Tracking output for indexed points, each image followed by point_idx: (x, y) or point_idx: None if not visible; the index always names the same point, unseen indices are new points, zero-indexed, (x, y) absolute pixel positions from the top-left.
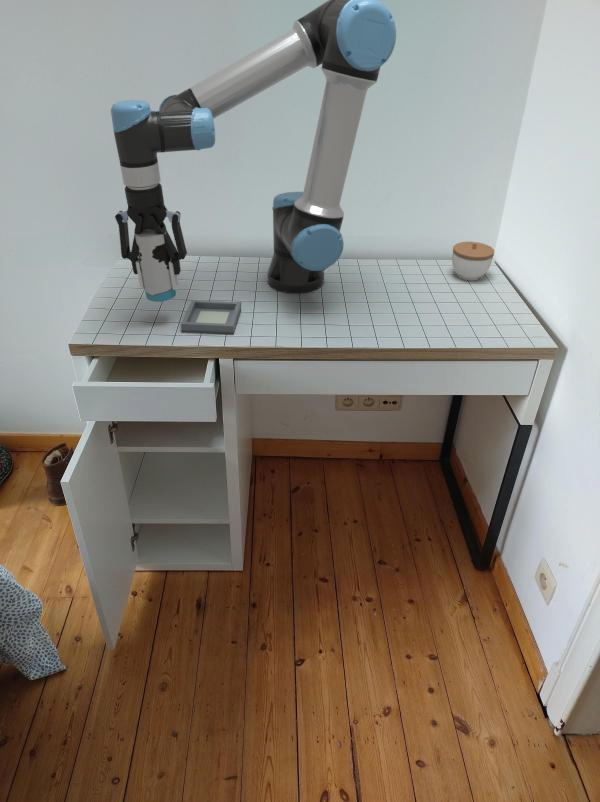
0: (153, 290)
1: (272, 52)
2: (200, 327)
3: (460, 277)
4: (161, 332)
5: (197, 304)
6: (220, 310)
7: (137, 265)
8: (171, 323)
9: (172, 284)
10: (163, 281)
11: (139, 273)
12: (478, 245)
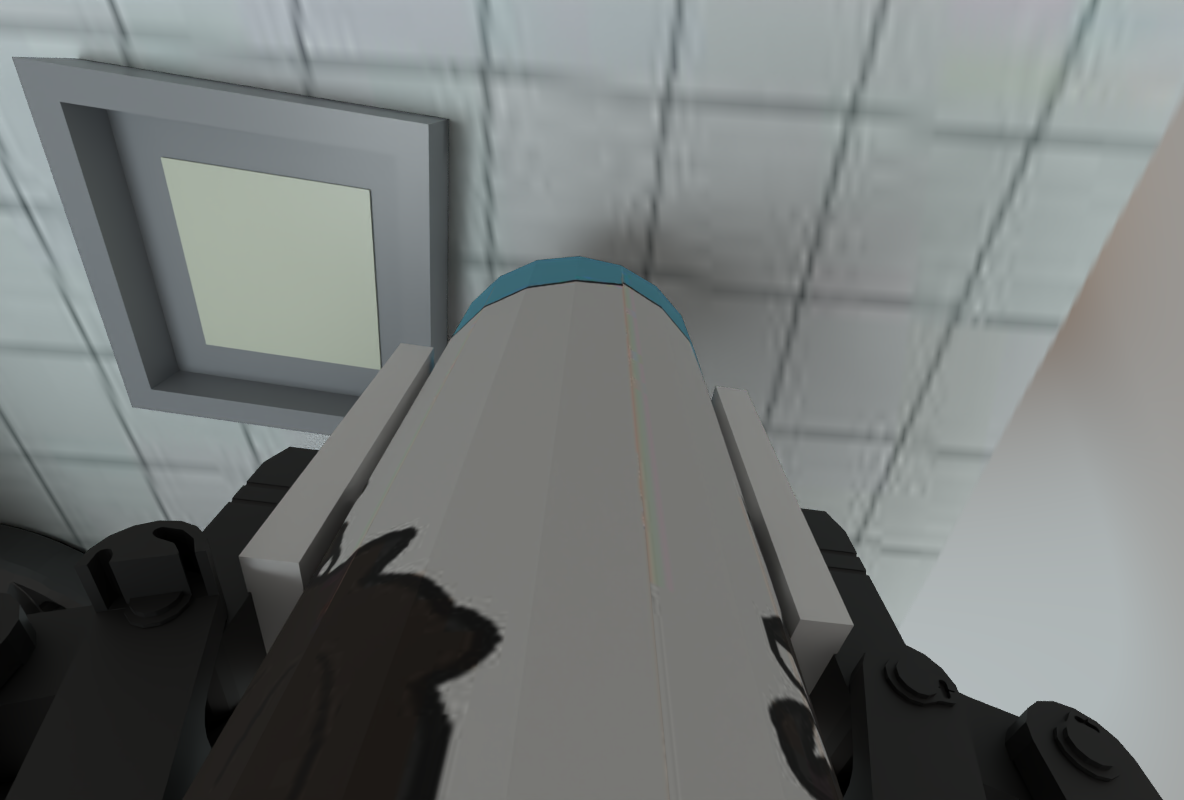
0: (610, 300)
1: None
2: (287, 97)
3: None
4: (589, 128)
5: None
6: (269, 370)
7: (815, 579)
8: (539, 254)
9: (411, 373)
10: (471, 352)
11: (773, 492)
12: None
